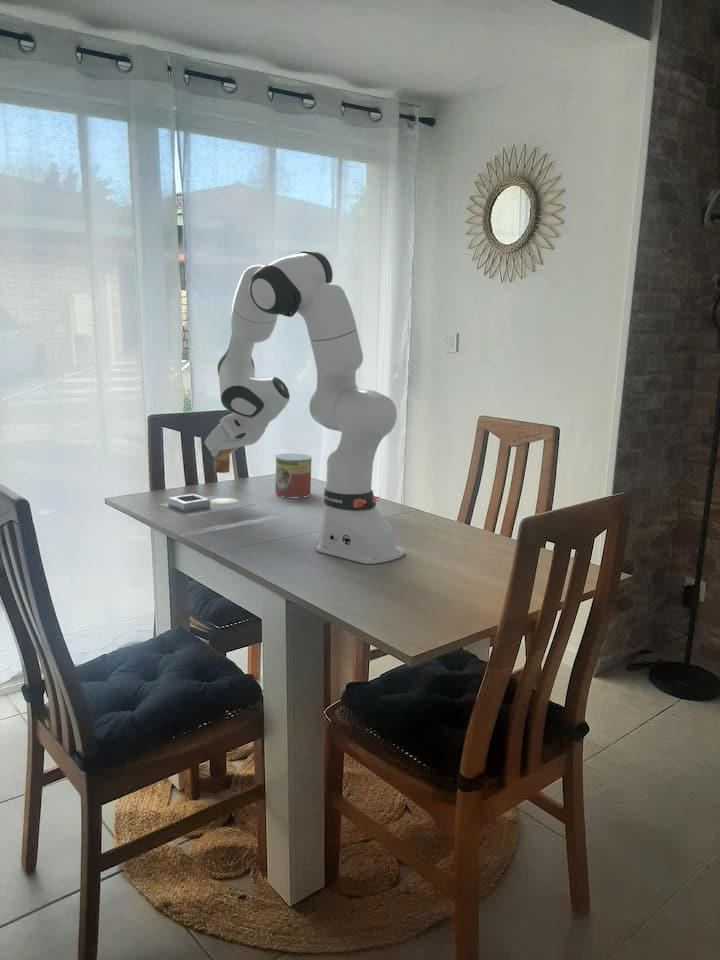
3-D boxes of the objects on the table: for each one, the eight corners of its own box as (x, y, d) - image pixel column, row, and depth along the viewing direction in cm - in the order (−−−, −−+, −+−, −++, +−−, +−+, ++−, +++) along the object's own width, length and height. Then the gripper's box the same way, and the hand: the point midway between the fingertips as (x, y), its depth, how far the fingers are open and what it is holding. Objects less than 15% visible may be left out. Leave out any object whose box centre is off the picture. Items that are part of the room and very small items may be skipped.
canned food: (267, 493, 228) (268, 456, 226) (291, 488, 238) (291, 452, 235) (294, 500, 222) (295, 461, 220) (317, 494, 231) (319, 457, 229)
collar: (210, 507, 205) (210, 499, 204) (184, 512, 199) (184, 503, 198) (194, 501, 210) (194, 493, 210) (168, 505, 205) (168, 497, 204)
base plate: (255, 508, 210) (255, 504, 210) (189, 520, 195) (189, 516, 195) (224, 497, 221) (224, 493, 221) (159, 508, 206) (159, 504, 206)
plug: (232, 471, 209) (233, 441, 207) (219, 473, 206) (220, 442, 204) (223, 469, 212) (224, 438, 210) (210, 470, 209) (211, 439, 207)
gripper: (264, 412, 211) (237, 441, 218) (218, 417, 194) (190, 449, 200) (276, 428, 210) (248, 457, 217) (231, 436, 192) (202, 467, 199)
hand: (220, 453), depth 208 cm, fingers closed on plug, 4 cm apart
